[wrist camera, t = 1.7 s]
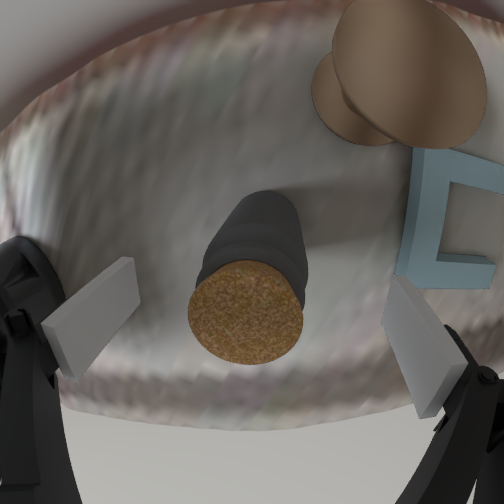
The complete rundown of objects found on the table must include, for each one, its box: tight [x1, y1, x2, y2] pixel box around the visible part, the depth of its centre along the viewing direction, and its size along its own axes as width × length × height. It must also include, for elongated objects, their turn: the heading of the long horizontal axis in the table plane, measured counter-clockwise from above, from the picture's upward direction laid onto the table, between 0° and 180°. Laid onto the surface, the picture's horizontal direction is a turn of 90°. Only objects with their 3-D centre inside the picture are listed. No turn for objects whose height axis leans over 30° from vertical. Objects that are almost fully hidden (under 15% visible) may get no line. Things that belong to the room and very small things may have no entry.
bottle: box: [188, 191, 308, 365], centre depth 18 cm, size 6×6×15 cm
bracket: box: [395, 147, 504, 289], centre depth 22 cm, size 12×13×2 cm
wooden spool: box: [312, 0, 487, 149], centre depth 15 cm, size 9×9×11 cm
